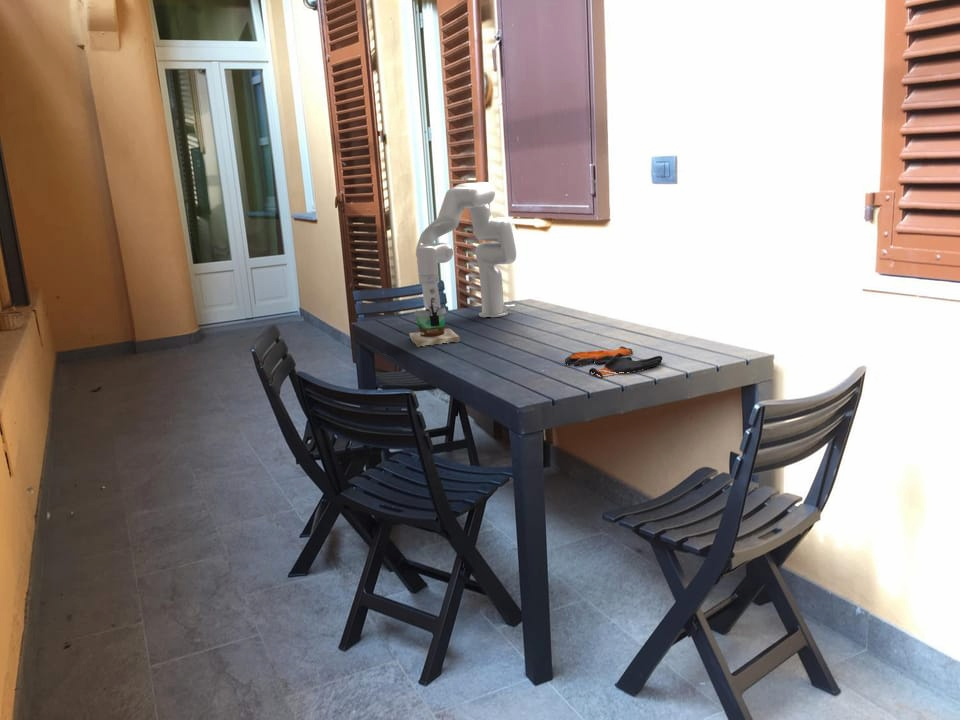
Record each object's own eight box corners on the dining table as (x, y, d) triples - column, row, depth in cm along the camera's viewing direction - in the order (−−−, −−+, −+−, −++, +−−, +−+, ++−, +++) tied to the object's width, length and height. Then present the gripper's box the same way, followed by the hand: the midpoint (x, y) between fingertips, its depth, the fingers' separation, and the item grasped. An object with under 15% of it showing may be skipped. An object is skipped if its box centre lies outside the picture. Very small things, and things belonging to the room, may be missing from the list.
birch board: (450, 333, 309) (449, 328, 309) (459, 341, 292) (459, 336, 292) (410, 338, 306) (409, 333, 305) (417, 347, 289) (416, 341, 288)
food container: (421, 339, 293) (418, 312, 290) (416, 336, 298) (414, 310, 296) (452, 334, 297) (450, 308, 294) (447, 331, 302) (445, 306, 300)
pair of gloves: (556, 363, 251) (555, 353, 251) (620, 351, 261) (619, 341, 260) (603, 381, 227) (603, 369, 226) (672, 367, 236) (672, 356, 235)
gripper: (443, 280, 286) (446, 326, 290) (434, 275, 302) (438, 319, 306) (422, 282, 284) (427, 328, 288) (415, 277, 301) (419, 321, 305)
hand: (432, 323), depth 297 cm, fingers open, 9 cm apart
